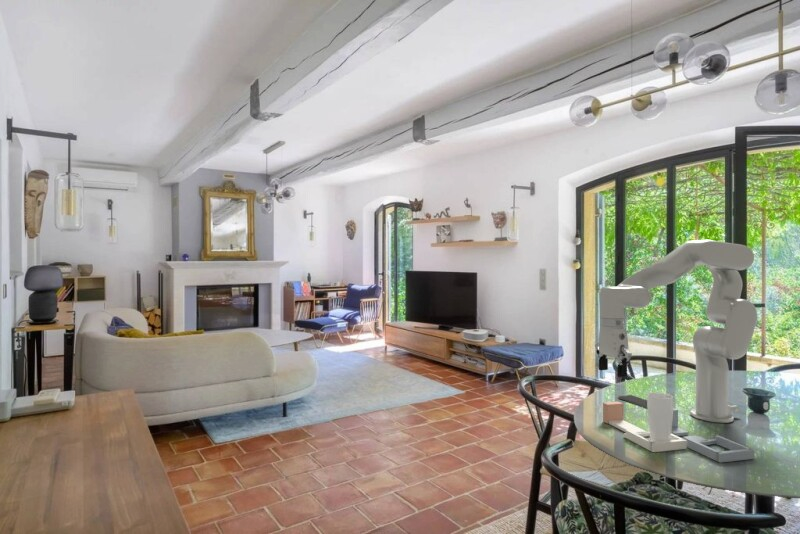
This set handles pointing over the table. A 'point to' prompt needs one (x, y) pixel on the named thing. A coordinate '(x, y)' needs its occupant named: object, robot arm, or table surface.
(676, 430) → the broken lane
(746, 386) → the table surface
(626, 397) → the smartphone
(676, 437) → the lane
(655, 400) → the drinking glass
